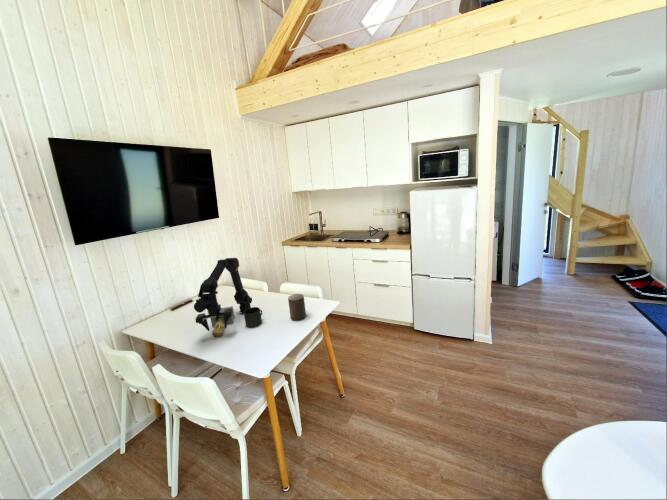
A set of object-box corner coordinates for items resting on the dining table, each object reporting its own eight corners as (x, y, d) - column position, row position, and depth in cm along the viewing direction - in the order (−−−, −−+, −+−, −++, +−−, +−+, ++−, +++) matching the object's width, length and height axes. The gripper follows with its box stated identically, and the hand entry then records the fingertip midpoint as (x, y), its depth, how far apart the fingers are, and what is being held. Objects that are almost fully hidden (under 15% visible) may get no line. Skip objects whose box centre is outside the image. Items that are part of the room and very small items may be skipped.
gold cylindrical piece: (217, 326, 165) (215, 318, 164) (227, 324, 166) (225, 316, 165) (213, 338, 152) (211, 329, 150) (223, 336, 153) (221, 327, 152)
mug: (268, 320, 168) (266, 306, 166) (253, 329, 159) (250, 315, 156) (258, 317, 173) (256, 304, 171) (242, 326, 164) (240, 312, 162)
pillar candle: (303, 321, 163) (300, 298, 159) (288, 320, 165) (285, 298, 161) (308, 313, 172) (305, 291, 168) (293, 313, 174) (290, 291, 170)
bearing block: (215, 320, 175) (213, 309, 173) (234, 316, 177) (232, 305, 175) (212, 327, 165) (209, 316, 163) (232, 323, 168) (230, 312, 166)
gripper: (231, 295, 159) (236, 319, 163) (197, 301, 155) (203, 325, 159) (229, 303, 149) (234, 328, 152) (192, 309, 145) (198, 335, 149)
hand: (217, 329), depth 153 cm, fingers open, 9 cm apart
